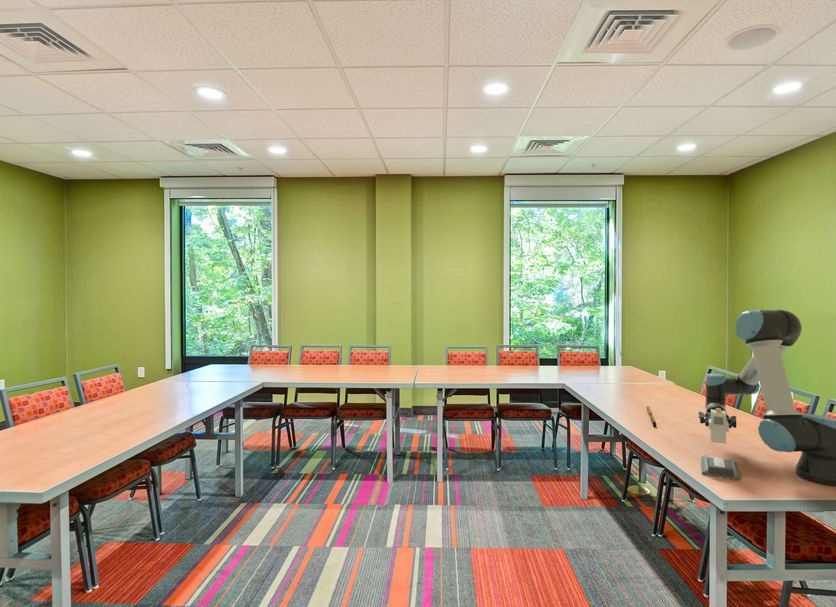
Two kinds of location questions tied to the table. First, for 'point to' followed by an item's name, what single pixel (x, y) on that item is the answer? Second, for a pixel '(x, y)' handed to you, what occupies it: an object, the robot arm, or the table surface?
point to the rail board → (727, 464)
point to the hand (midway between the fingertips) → (718, 427)
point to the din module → (718, 426)
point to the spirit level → (651, 417)
